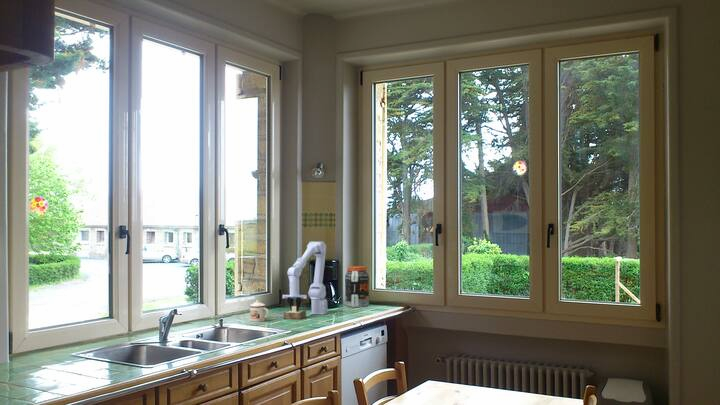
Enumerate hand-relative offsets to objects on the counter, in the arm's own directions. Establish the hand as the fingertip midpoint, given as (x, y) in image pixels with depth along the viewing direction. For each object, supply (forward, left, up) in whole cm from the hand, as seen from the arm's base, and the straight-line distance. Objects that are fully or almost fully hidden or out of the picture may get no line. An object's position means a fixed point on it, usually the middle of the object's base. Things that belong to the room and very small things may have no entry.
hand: (294, 310), depth 384 cm
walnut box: (0, 0, -4) cm, 4 cm away
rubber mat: (+12, -6, -4) cm, 14 cm away
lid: (0, 0, -1) cm, 1 cm away
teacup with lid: (+16, +13, -4) cm, 21 cm away
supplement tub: (-23, -57, -4) cm, 61 cm away
